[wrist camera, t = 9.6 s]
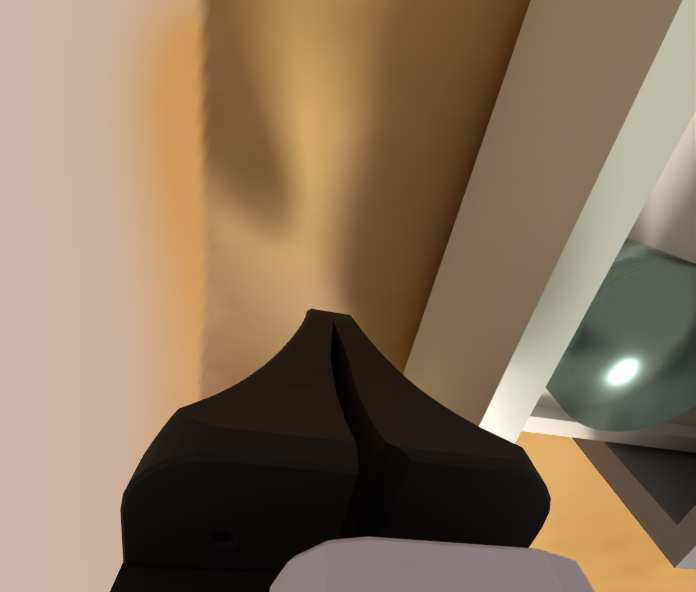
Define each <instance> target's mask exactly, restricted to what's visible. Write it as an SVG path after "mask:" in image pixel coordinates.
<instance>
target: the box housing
mask: <svg viewBox="0 0 696 592" xmlns="http://www.w3.org/2000/svg"><path fill="white" fill-rule="evenodd" d="M572 438H573V440H574V441H575V442H576V444H577V445H578V446H579V447H580V449H581V450H582V451H583V452H584V454H585V455H586V456H587V457H588V459H589V460H590V461H591V463H592V464H593V465H594V466H595V468H596V469H597V470H598V471H599V473H600V474H601V475H602V477H603V478H604V479H605V480H606V482H607V483H608V484H609V485H610V487H611V488H612V489H613V490H614V492H615V493H616V494H617V496H618V497H619V498H620V499H621V501H622V502H623V503H624V504H625V506H626V507H627V508H628V509H629V511H630V512H631V513H632V515H633V516H634V517H635V518H636V520H637V521H638V522H639V523H640V525H641V526H642V527H643V529H644V530H645V531H646V532H647V534H648V535H649V536H650V537H651V539H652V540H653V541H654V542H655V544H656V545H657V546H658V548H659V549H660V550H661V551H662V553H663V554H664V555H665V556H666V558H667V559H668V560H669V562H670V563H671V564H672V565H673V567H674V568H682V569H696V453H694V452H686V451H678V450H670V449H662V448H654V447H646V446H638V445H630V444H622V443H614V442H606V441H598V440H590V439H582V438H574V437H572Z"/></svg>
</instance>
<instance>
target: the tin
mask: <svg viewBox="0 0 696 592" xmlns="http://www.w3.org/2000/svg"><path fill="white" fill-rule="evenodd" d="M545 388H546V389H547V390H548V391H549V393H550V394H551V395H552V396H553V398H554V399H555V400H556V401H557V402H558V404H559V405H560V406H561V407H562V408H563V410H564V411H565V412H566V413H567V414H568V415H569V416H570V417H571V418H572V419H574V420H575V421H576V422H578V423H580V424H582V425H584V426H586V427H589V428H592V429H596V430H601V431H609V432H626V431H634V430H639V429H644V428H648V427H652V426H655V425H658V424H661V423H664V422H666V421H669V420H671V419H673V418H675V417H677V416H679V415H681V414H683V413H685V412H687V411H688V410H690V409H692V408H693V407H695V406H696V264H695V263H692V262H690V261H687V260H684V259H682V258H679V257H677V256H674V255H671V254H669V253H666V252H664V251H661V250H658V249H656V248H653V247H651V246H648V245H645V244H643V243H640V242H637V241H635V240H632V239H630V238H626V240H625V242H624V244H623V245H622V247H621V249H620V251H619V253H618V255H617V256H616V258H615V260H614V262H613V264H612V266H611V267H610V269H609V271H608V273H607V275H606V277H605V279H604V280H603V282H602V284H601V286H600V288H599V290H598V291H597V293H596V295H595V297H594V299H593V301H592V302H591V304H590V306H589V308H588V310H587V312H586V313H585V315H584V317H583V319H582V321H581V323H580V325H579V326H578V328H577V330H576V332H575V334H574V336H573V337H572V339H571V341H570V343H569V345H568V347H567V348H566V350H565V352H564V354H563V356H562V358H561V359H560V361H559V363H558V365H557V367H556V369H555V371H554V372H553V374H552V376H551V378H550V380H549V382H548V383H547V385H546V387H545Z"/></svg>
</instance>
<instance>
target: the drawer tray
mask: <svg viewBox="0 0 696 592" xmlns="http://www.w3.org/2000/svg"><path fill="white" fill-rule="evenodd" d="M626 238H630V239H632V240H635V241H637V242H640V243H643V244H645V245H648V246H651V247H653V248H656V249H658V250H661V251H664V252H666V253H669V254H671V255H674V256H677V257H679V258H682V259H684V260H687V261H690V262H692V263H695V264H696V0H531V1H530V4H529V7H528V9H527V12H526V15H525V18H524V21H523V24H522V27H521V30H520V33H519V36H518V39H517V42H516V45H515V48H514V51H513V53H512V56H511V59H510V62H509V65H508V68H507V71H506V74H505V77H504V80H503V83H502V86H501V89H500V92H499V95H498V97H497V100H496V103H495V106H494V109H493V112H492V115H491V118H490V121H489V124H488V127H487V130H486V133H485V136H484V139H483V141H482V144H481V147H480V150H479V153H478V156H477V159H476V162H475V165H474V168H473V171H472V174H471V177H470V180H469V183H468V185H467V188H466V191H465V194H464V197H463V200H462V203H461V206H460V209H459V212H458V215H457V218H456V221H455V224H454V227H453V229H452V232H451V235H450V238H449V241H448V244H447V247H446V250H445V253H444V256H443V259H442V262H441V265H440V268H439V271H438V273H437V276H436V279H435V282H434V285H433V288H432V291H431V294H430V297H429V300H428V303H427V306H426V309H425V312H424V315H423V317H422V320H421V323H420V326H419V329H418V332H417V335H416V338H415V341H414V344H413V347H412V350H411V353H410V356H409V359H408V361H407V364H406V367H405V370H404V373H403V375H404V376H405V377H406V378H407V379H408V380H410V381H411V382H412V383H413V384H414V385H416V386H417V387H418V388H419V389H421V390H422V391H423V392H425V393H426V394H427V395H429V396H430V397H432V398H433V399H435V400H436V401H437V402H439V403H440V404H442V405H443V406H445V407H446V408H448V409H450V410H451V411H453V412H454V413H456V414H458V415H459V416H461V417H463V418H465V419H466V420H468V421H470V422H472V423H473V424H475V425H477V426H479V427H481V428H483V429H485V430H487V431H489V432H491V433H493V434H495V435H497V436H499V437H501V438H504V439H506V440H508V441H510V442H512V443H514V444H515V442H516V440H517V439H518V437H519V435H520V433H521V431H526V432H534V433H542V434H550V435H558V436H566V437H574V438H582V439H590V440H598V441H606V442H614V443H622V444H630V445H638V446H646V447H654V448H662V449H670V450H678V451H686V452H694V453H696V406H695V407H693V408H692V409H690V410H688V411H687V412H685V413H683V414H681V415H679V416H677V417H675V418H673V419H671V420H669V421H666V422H664V423H661V424H658V425H655V426H652V427H648V428H644V429H639V430H634V431H626V432H609V431H601V430H596V429H592V428H589V427H586V426H584V425H582V424H580V423H578V422H576V421H575V420H574V419H572V418H571V417H570V416H569V415H568V414H567V413H566V412H565V411H564V410H563V408H562V407H561V406H560V405H559V404H558V402H557V401H556V400H555V399H554V398H553V396H552V395H551V394H550V393H549V391H548V390H547V389H546V388H545V387H546V385H547V383H548V382H549V380H550V378H551V376H552V374H553V372H554V371H555V369H556V367H557V365H558V363H559V361H560V359H561V358H562V356H563V354H564V352H565V350H566V348H567V347H568V345H569V343H570V341H571V339H572V337H573V336H574V334H575V332H576V330H577V328H578V326H579V325H580V323H581V321H582V319H583V317H584V315H585V313H586V312H587V310H588V308H589V306H590V304H591V302H592V301H593V299H594V297H595V295H596V293H597V291H598V290H599V288H600V286H601V284H602V282H603V280H604V279H605V277H606V275H607V273H608V271H609V269H610V267H611V266H612V264H613V262H614V260H615V258H616V256H617V255H618V253H619V251H620V249H621V247H622V245H623V244H624V242H625V240H626Z"/></svg>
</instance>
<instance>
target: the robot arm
mask: <svg viewBox="0 0 696 592" xmlns="http://www.w3.org/2000/svg"><path fill="white" fill-rule="evenodd" d="M550 500H551V498H550V495H549V492H548V489H547V486H546V485H545V483H544V481H543V480H542V478H541V476H540V475H539V473H538V472H537V470H536V468H535V467H534V465H533V463H532V462H531V460H530V459H529V457H528V455H527V454H526V452H525V451H524V449H523V448H522V447H520V446H518V445H516V444H514V443H512V442H510V441H508V440H506V439H504V438H501V437H499V436H497V435H495V434H493V433H491V432H489V431H487V430H485V429H483V428H481V427H479V426H477V425H475V424H473V423H472V422H470V421H468V420H466V419H465V418H463V417H461V416H459V415H458V414H456V413H454V412H453V411H451V410H450V409H448V408H446V407H445V406H443V405H442V404H440V403H439V402H437V401H436V400H435V399H433V398H432V397H430V396H429V395H427V394H426V393H425V392H423V391H422V390H421V389H419V388H418V387H417V386H416V385H414V384H413V383H412V382H411V381H410V380H408V379H407V378H406V377H405V376H404V375H403V374H401V373H400V372H399V371H398V370H397V369H396V368H395V367H394V366H393V365H392V364H391V363H390V362H389V361H388V360H387V359H386V358H385V357H384V356H383V355H382V354H381V353H380V351H379V350H378V349H377V348H376V347H375V346H374V345H373V343H372V342H371V341H370V340H369V339H368V337H367V336H366V335H365V334H364V332H363V331H362V330H361V329H360V327H359V326H358V325H357V323H356V322H355V321H354V319H353V318H352V317H351V316H350V315H346V314H340V313H334V312H328V311H321V310H315V309H310V310H308V311H307V313H306V317H305V319H304V321H303V323H302V324H301V326H300V328H299V329H298V330H297V332H296V333H295V334H294V336H293V337H292V338H291V340H290V341H289V342H288V343H287V344H286V345H285V346H284V347H283V348H282V350H281V351H280V352H279V353H278V354H277V355H275V356H274V357H273V358H272V359H271V360H270V361H269V362H268V363H266V364H265V365H264V366H263V367H261V368H260V369H259V370H257V371H256V372H255V373H253V374H252V375H250V376H249V377H247V378H246V379H244V380H243V381H241V382H240V383H238V384H236V385H234V386H232V387H230V388H228V389H227V390H225V391H223V392H220V393H218V394H216V395H214V396H211V397H209V398H206V399H203V400H201V401H198V402H196V403H193V404H190V405H188V406H185V407H182V408H179V409H178V410H177V411H176V412H175V413H174V415H173V416H172V417H171V418H170V419H169V421H168V422H167V423H166V425H165V426H164V427H163V428H162V430H161V431H160V432H159V434H158V435H157V436H156V438H155V439H154V441H153V442H152V443H151V445H150V446H149V448H148V449H147V451H146V452H145V454H144V456H143V457H142V459H141V461H140V463H139V465H138V466H137V468H136V470H135V472H134V474H133V476H132V478H131V480H130V482H129V484H128V486H127V488H126V489H125V491H124V493H123V498H122V504H121V527H122V545H123V561H124V562H123V564H122V566H121V569H120V571H119V573H118V575H117V577H116V579H115V582H114V584H113V586H112V588H111V591H110V592H595V591H594V590H593V588H592V586H591V585H590V583H589V581H588V579H587V578H586V576H585V575H584V573H583V572H582V570H581V569H580V567H579V565H578V564H577V562H576V561H574V560H571V559H569V558H566V557H564V556H560V555H557V554H553V553H550V552H546V551H543V550H540V549H534V548H529V546H530V545H531V543H532V542H533V540H534V539H535V537H536V536H537V534H538V533H539V531H540V530H541V528H542V527H543V524H544V522H545V520H546V518H547V516H548V514H549V511H550Z"/></svg>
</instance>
